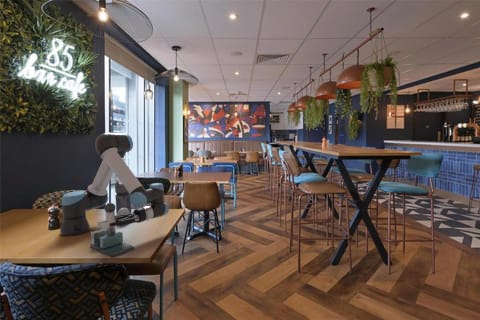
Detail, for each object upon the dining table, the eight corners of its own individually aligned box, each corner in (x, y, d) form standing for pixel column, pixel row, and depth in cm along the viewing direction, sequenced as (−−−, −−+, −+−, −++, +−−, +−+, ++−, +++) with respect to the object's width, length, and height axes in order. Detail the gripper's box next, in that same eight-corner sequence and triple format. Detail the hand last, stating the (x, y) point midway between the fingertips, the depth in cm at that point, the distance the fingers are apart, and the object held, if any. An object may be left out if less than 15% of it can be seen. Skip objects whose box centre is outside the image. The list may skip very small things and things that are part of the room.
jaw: (99, 246, 131) (96, 204, 129) (118, 240, 139) (116, 200, 137) (104, 249, 128) (102, 205, 126) (123, 242, 136) (122, 201, 134)
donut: (119, 225, 170) (119, 210, 169) (115, 224, 171) (114, 209, 170) (131, 220, 179) (130, 206, 178) (127, 220, 180) (126, 205, 179)
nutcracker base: (90, 246, 136) (89, 232, 135) (111, 240, 145) (110, 226, 144) (112, 257, 123) (111, 241, 122) (134, 249, 132) (133, 234, 131)
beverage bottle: (136, 212, 200) (135, 179, 198) (123, 217, 188) (121, 182, 186) (126, 211, 204) (124, 178, 202) (112, 215, 191) (110, 181, 189)
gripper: (152, 223, 142) (109, 237, 124) (134, 218, 152) (91, 229, 134) (152, 210, 142) (108, 221, 123) (133, 205, 152) (90, 215, 133)
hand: (99, 225), depth 128 cm, fingers closed on jaw, 4 cm apart
